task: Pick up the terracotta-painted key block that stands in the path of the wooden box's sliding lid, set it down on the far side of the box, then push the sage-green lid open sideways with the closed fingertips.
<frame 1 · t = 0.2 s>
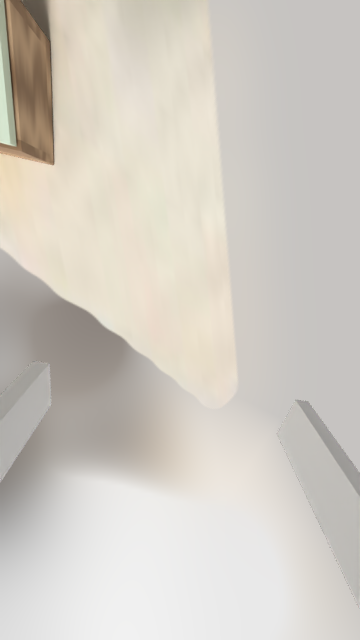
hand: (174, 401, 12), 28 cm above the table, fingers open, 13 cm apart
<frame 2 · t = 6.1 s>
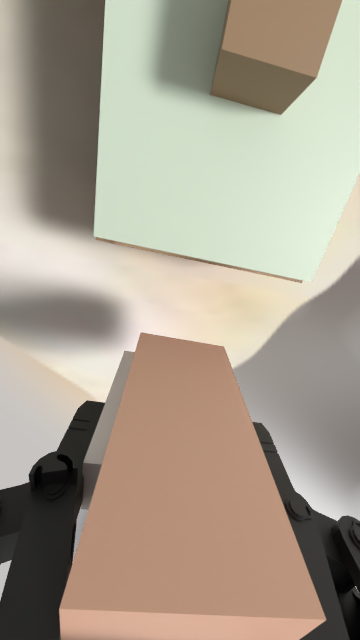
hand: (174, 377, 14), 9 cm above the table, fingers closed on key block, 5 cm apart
key block: (174, 373, 14), point 8 cm above the table, touching gripper
wooden box: (223, 117, 16), on the table
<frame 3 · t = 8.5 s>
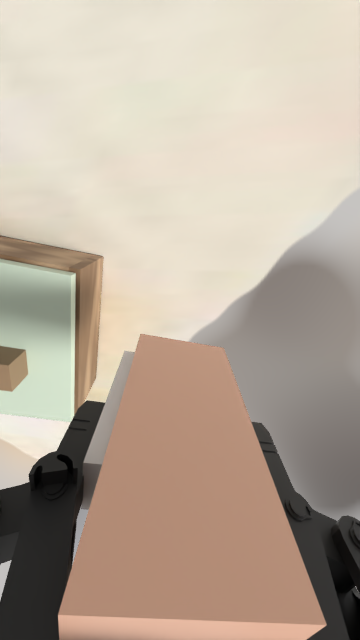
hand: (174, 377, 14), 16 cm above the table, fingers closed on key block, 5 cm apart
key block: (174, 374, 14), point 16 cm above the table, touching gripper
wooden box: (52, 316, 29), on the table
lid: (4, 356, 21), point 9 cm above the table, slide at 0.0 cm
when the fingers open (0 cm above the table, at t = 11.0 s): key block stays where it is, on the table.
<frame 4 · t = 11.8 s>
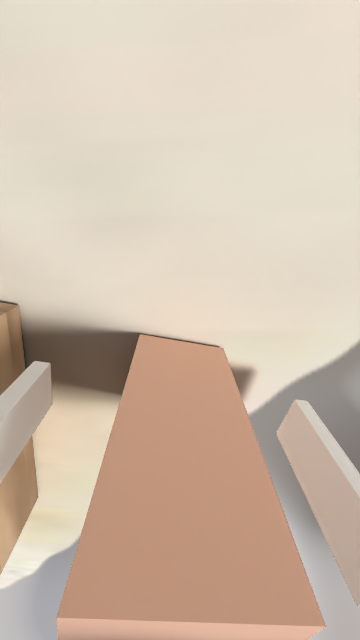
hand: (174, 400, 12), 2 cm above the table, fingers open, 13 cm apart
key block: (174, 374, 14), on the table
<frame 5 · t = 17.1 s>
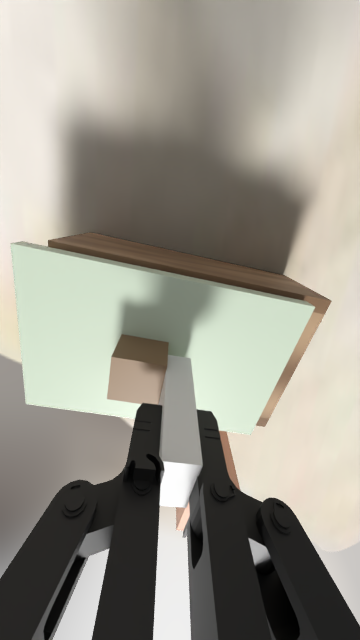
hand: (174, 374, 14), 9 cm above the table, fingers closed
key block: (198, 425, 29), on the table
wooden box: (178, 314, 23), on the table
lid: (156, 366, 14), point 9 cm above the table, slide at 1.6 cm, touching gripper
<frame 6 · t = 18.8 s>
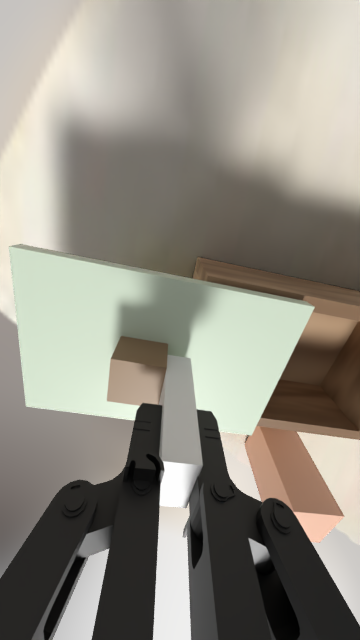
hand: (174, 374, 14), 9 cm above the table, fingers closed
key block: (267, 434, 30), on the table
wooden box: (266, 331, 24), on the table
lid: (155, 368, 14), point 9 cm above the table, slide at 11.1 cm, touching gripper
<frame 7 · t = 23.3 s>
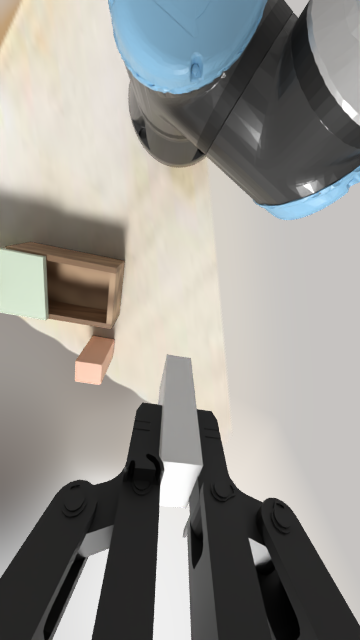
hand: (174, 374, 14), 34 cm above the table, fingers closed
key block: (103, 346, 53), on the table
wooden box: (78, 281, 46), on the table
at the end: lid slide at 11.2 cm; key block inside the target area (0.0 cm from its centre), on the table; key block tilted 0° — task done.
